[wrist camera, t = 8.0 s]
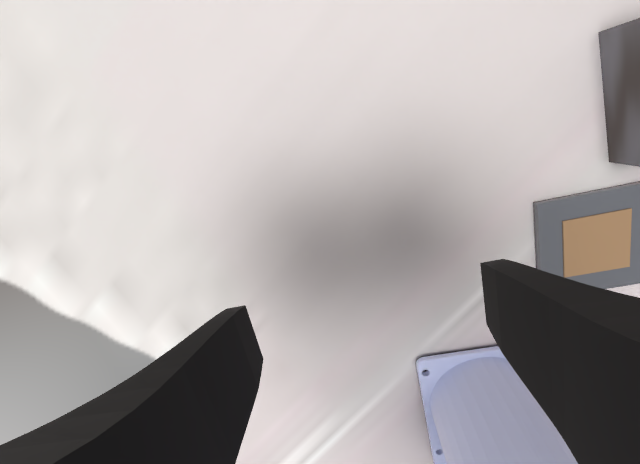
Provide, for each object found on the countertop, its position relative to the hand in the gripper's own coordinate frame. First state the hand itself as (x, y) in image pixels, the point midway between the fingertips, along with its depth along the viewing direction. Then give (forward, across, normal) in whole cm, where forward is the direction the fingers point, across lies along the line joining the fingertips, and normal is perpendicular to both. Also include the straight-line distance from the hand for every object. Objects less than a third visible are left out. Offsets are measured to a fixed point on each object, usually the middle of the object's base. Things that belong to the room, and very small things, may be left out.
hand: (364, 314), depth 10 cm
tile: (+10, -13, +4) cm, 17 cm away
